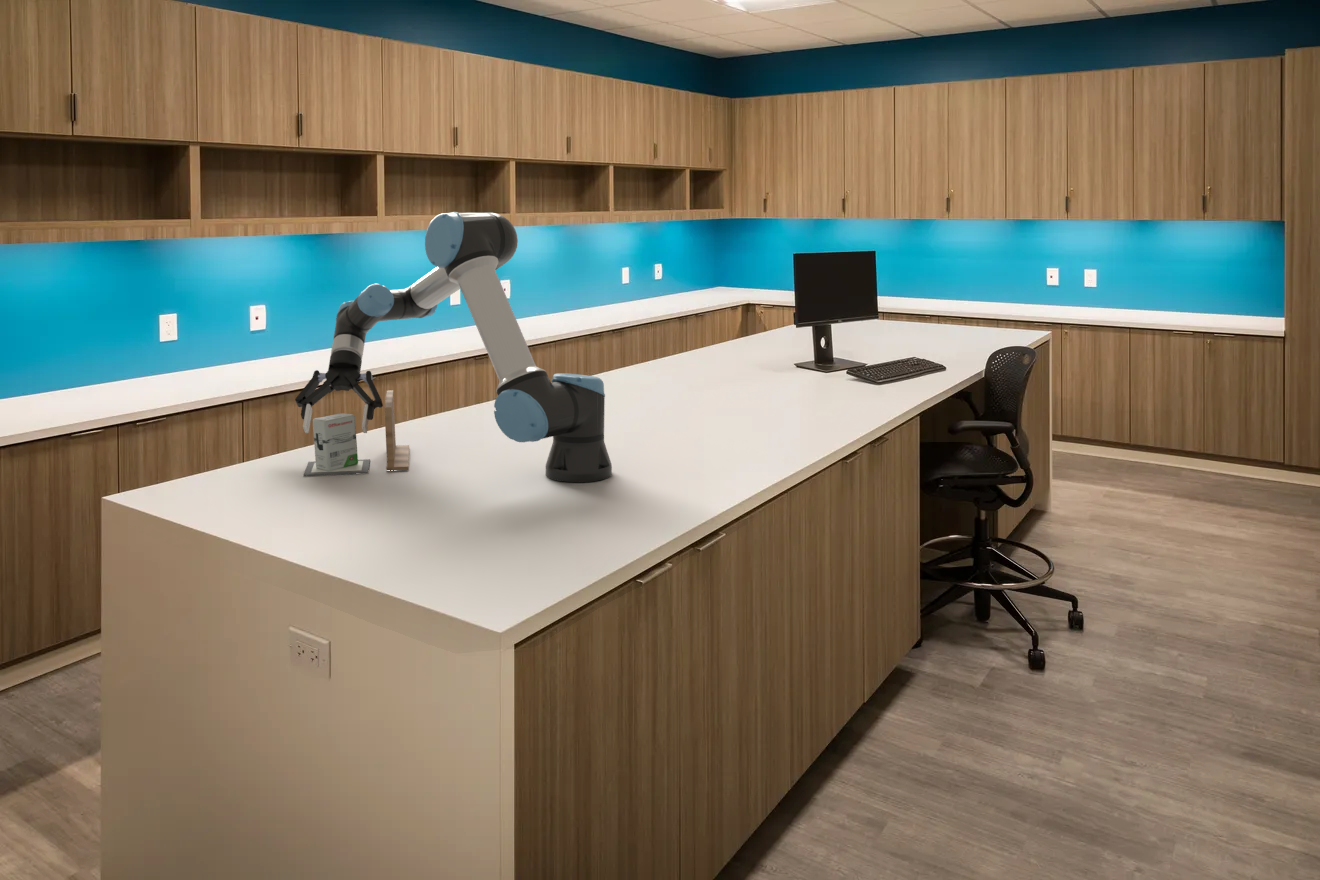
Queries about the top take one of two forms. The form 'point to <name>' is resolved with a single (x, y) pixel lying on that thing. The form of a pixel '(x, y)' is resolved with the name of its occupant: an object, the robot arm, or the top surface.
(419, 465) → the top surface
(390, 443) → the light wood l-shaped piece
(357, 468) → the mat
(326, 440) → the ink box
